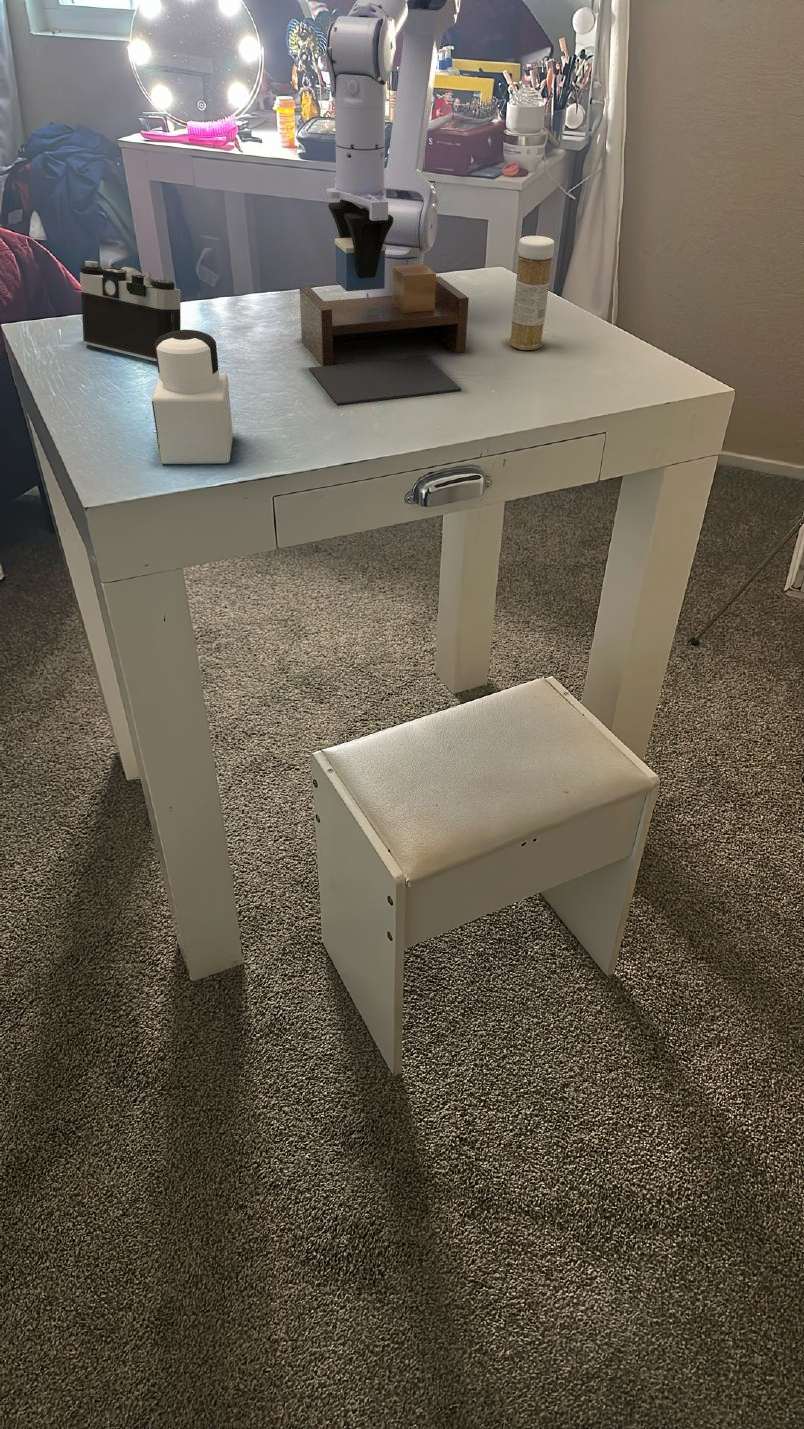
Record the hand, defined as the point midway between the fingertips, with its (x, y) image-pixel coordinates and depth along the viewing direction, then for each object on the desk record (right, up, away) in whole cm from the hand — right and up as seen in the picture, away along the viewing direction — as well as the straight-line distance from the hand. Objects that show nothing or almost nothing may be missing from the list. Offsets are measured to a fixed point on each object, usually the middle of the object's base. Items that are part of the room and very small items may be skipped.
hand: (360, 271), depth 117 cm
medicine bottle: (-17, -27, -17) cm, 36 cm away
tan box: (+7, -1, +7) cm, 10 cm away
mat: (+3, -13, 0) cm, 14 cm away
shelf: (+3, -6, +10) cm, 11 cm away
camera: (-29, -6, +8) cm, 30 cm away
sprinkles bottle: (+22, -5, +12) cm, 26 cm away
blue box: (0, -1, +1) cm, 2 cm away
